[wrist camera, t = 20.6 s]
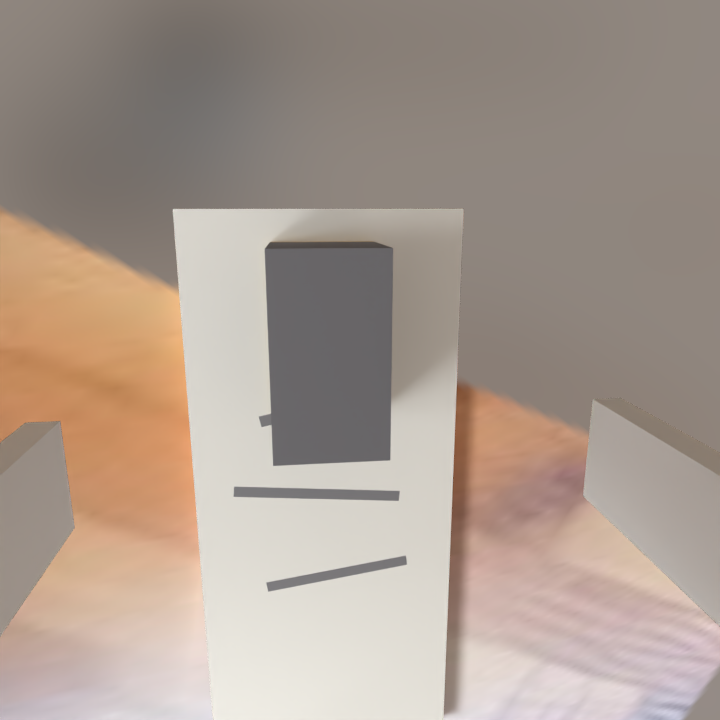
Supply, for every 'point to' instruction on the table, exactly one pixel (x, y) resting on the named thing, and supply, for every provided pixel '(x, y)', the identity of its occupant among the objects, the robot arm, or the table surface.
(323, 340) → the block
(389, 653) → the board
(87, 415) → the table surface
